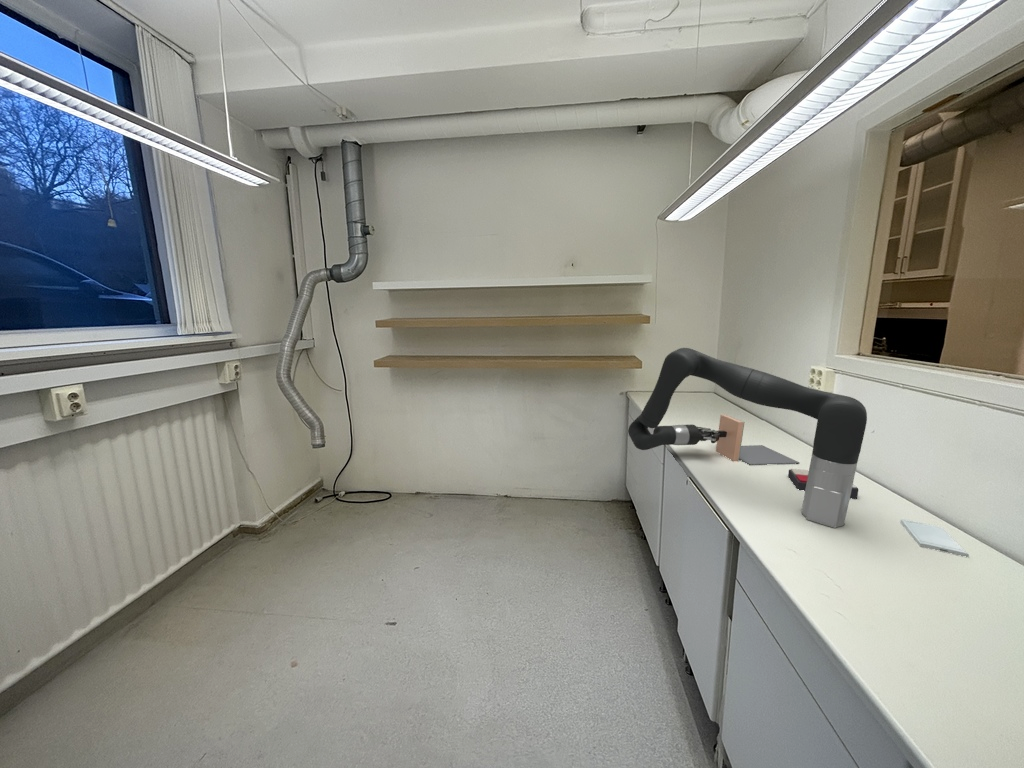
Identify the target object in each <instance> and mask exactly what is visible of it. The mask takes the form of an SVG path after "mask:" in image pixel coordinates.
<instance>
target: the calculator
mask: <svg viewBox="0 0 1024 768" xmlns="http://www.w3.org/2000/svg"><path fill="white" fill-rule="evenodd" d="M808 473H809V469H800V468H798V469H797V468H790V469H788V476H787V478H788V479H789V478H790V479H789V480H790V481H791V482H793V483H792V484H793V486H794V485H795V486H796V487H795V486H794V487H795V489H799V490H798V491H801V490H804V491H803V492H805V489H806V483H807V478H808ZM858 495H859V488H858V487H857V486H856V485H855V484H854V483H853V486H852V490H851V495H850V499H851V498H852V500H857V499H858Z"/></svg>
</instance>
